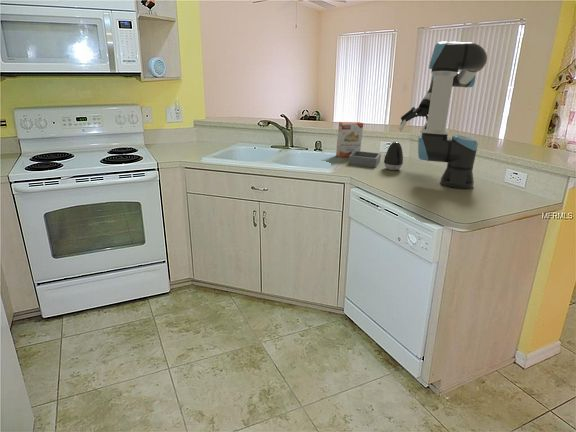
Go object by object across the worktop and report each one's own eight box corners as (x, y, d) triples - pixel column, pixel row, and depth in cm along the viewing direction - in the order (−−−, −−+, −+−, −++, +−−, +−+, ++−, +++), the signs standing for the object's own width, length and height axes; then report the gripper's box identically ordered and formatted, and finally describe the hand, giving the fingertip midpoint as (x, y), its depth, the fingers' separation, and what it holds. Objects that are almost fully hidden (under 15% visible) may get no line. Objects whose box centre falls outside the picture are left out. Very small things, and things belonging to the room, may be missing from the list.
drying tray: (375, 167, 220) (376, 158, 218) (348, 164, 225) (349, 155, 223) (380, 161, 233) (381, 153, 231) (354, 158, 238) (355, 150, 236)
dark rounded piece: (400, 167, 222) (404, 140, 216) (403, 172, 212) (407, 144, 206) (382, 166, 222) (385, 139, 217) (384, 171, 213) (387, 143, 207)
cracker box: (339, 157, 240) (342, 123, 232) (335, 155, 245) (338, 121, 238) (360, 157, 244) (363, 122, 236) (356, 154, 249) (359, 121, 241)
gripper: (450, 109, 219) (432, 139, 215) (410, 105, 236) (393, 132, 231) (447, 100, 213) (429, 130, 209) (407, 96, 230) (389, 124, 226)
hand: (410, 131), depth 220 cm, fingers open, 13 cm apart
